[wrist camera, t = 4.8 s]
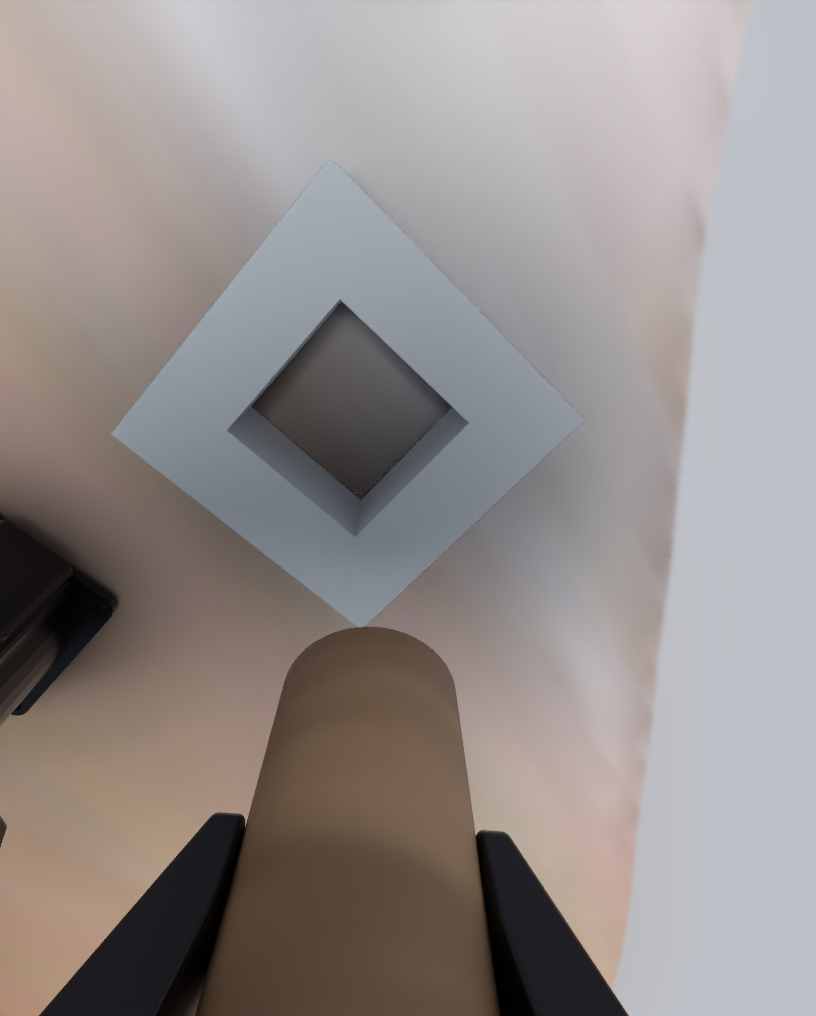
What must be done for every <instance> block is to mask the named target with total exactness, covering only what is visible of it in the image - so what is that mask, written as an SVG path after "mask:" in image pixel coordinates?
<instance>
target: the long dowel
mask: <svg viewBox="0 0 816 1016" xmlns="http://www.w3.org/2000/svg"><path fill="white" fill-rule="evenodd" d="M195 1016H500V1009H499V1002H498V995H497V987H496V980H495V973H494V966H493V958H492V951H491V944H490V937H489V930H488V922H487V915H486V908H485V901H484V893H483V886H482V879H481V872H480V864H479V857H478V850H477V843H476V835H475V828H474V821H473V813H472V806H471V799H470V792H469V784H468V777H467V770H466V763H465V755H464V748H463V741H462V734H461V726H460V719H459V712H458V705H457V697H456V691H455V685H454V681H453V679H452V676H451V673H450V671H449V670H448V668H447V666H446V664H445V663H444V662H443V660H442V659H441V658H440V657H439V656H438V655H437V654H436V653H435V652H434V651H433V650H432V649H431V648H430V647H428V646H427V645H426V644H425V643H423V642H421V641H420V640H418V639H416V638H414V637H412V636H410V635H407V634H405V633H402V632H399V631H396V630H392V629H386V628H379V627H357V628H351V629H345V630H342V631H338V632H335V633H332V634H330V635H327V636H325V637H323V638H321V639H319V640H318V641H316V642H314V643H313V644H312V645H310V646H309V647H308V648H306V649H305V650H304V651H303V652H302V653H301V654H300V655H299V656H298V657H297V659H296V660H295V661H294V663H293V664H292V666H291V668H290V670H289V671H288V673H287V676H286V679H285V682H284V685H283V689H282V693H281V697H280V700H279V704H278V708H277V712H276V715H275V719H274V723H273V727H272V730H271V734H270V738H269V741H268V745H267V749H266V753H265V756H264V760H263V764H262V768H261V771H260V775H259V779H258V782H257V786H256V790H255V794H254V797H253V801H252V805H251V809H250V812H249V816H248V820H247V824H246V827H245V831H244V835H243V838H242V842H241V846H240V850H239V853H238V857H237V861H236V865H235V868H234V872H233V876H232V879H231V883H230V887H229V891H228V894H227V898H226V902H225V906H224V909H223V913H222V917H221V921H220V924H219V928H218V932H217V935H216V939H215V943H214V947H213V950H212V954H211V958H210V962H209V965H208V969H207V973H206V977H205V980H204V984H203V988H202V991H201V995H200V999H199V1003H198V1006H197V1010H196V1014H195Z"/></svg>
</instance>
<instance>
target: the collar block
mask: <svg viewBox="0 0 816 1016" xmlns="http://www.w3.org/2000/svg"><path fill="white" fill-rule="evenodd" d="M341 302H343V303H344V304H345V305H346V306H348V307H349V308H350V309H351V310H352V311H353V312H354V313H355V314H356V315H357V316H358V317H359V318H360V319H361V320H362V321H363V322H364V323H365V324H366V325H367V326H368V327H369V328H370V329H372V330H373V331H374V332H375V333H376V334H377V335H378V336H379V337H380V338H381V339H382V340H383V341H384V342H385V343H386V344H387V345H388V346H389V347H390V348H391V349H392V350H393V351H394V352H395V353H397V354H398V355H399V356H400V357H401V358H402V359H403V360H404V361H405V362H406V363H407V364H408V365H409V366H410V367H411V368H412V369H413V370H414V371H415V372H416V373H417V374H418V375H419V376H421V377H422V378H423V379H424V380H425V381H426V382H427V383H428V384H429V385H430V386H431V387H432V388H433V389H434V390H435V391H436V392H437V393H438V394H439V395H440V396H441V397H442V398H443V399H445V400H446V401H447V402H448V403H449V404H450V405H451V406H452V408H451V409H450V410H449V411H448V412H447V413H446V414H445V415H444V416H443V417H442V418H441V419H440V420H439V421H438V422H437V423H436V424H435V425H434V426H433V427H432V428H431V429H430V430H429V431H428V432H427V433H426V434H425V435H424V436H423V437H422V438H421V439H420V440H419V441H418V442H417V443H416V444H415V445H414V446H413V447H412V448H411V450H410V451H409V452H408V453H407V454H406V455H405V456H404V457H403V458H402V459H401V460H400V461H399V462H398V463H397V464H396V465H395V466H394V467H393V468H392V469H391V470H390V471H389V472H388V473H387V474H386V475H385V476H384V477H383V478H382V479H381V480H380V481H379V482H378V483H377V484H376V485H375V486H374V487H373V488H372V489H371V490H370V491H369V492H368V493H367V494H366V496H365V497H364V498H363V499H362V500H360V499H359V498H358V497H357V496H355V495H354V494H353V493H352V492H351V491H350V490H348V489H347V488H346V487H345V486H344V485H343V484H341V483H340V482H339V481H338V480H337V479H336V478H334V477H333V476H332V475H331V474H330V473H328V472H327V471H326V470H325V469H324V468H323V467H321V466H320V465H319V464H318V463H317V462H316V461H314V460H313V459H312V458H311V457H310V456H309V455H307V454H306V453H305V452H304V451H303V450H302V449H300V448H299V447H298V446H297V445H296V444H295V443H293V442H292V441H291V440H290V439H289V438H288V437H286V436H285V435H284V434H283V433H282V432H281V431H279V430H278V429H277V428H276V427H275V426H274V425H272V424H271V423H270V422H269V421H268V420H267V419H265V418H264V417H263V416H262V415H261V414H260V413H258V412H257V411H256V410H255V409H254V408H253V407H251V406H252V405H253V404H254V403H255V402H256V400H257V399H258V398H259V397H260V396H261V395H262V393H263V392H264V391H265V390H266V389H267V388H268V386H269V385H270V384H271V383H272V382H273V381H274V380H275V378H276V377H277V376H278V375H279V374H280V373H281V371H282V370H283V369H284V368H285V367H286V366H287V364H288V363H289V362H290V361H291V360H292V359H293V358H294V356H295V355H296V354H297V353H298V352H299V351H300V349H301V348H302V347H303V346H304V345H305V344H306V342H307V341H308V340H309V339H310V338H311V337H312V335H313V334H314V333H315V332H316V331H317V330H318V329H319V327H320V326H321V325H322V324H323V323H324V322H325V320H326V319H327V318H328V317H329V316H330V315H331V313H332V312H333V311H334V310H335V309H336V308H337V306H338V305H339V304H340V303H341ZM584 420H585V419H584V418H583V417H582V416H581V415H580V414H579V413H578V412H577V411H576V410H575V409H574V408H573V407H572V406H571V405H570V404H569V403H568V402H567V401H566V400H565V399H564V398H563V397H562V395H561V394H560V393H559V392H558V391H557V390H556V389H555V388H554V387H553V386H552V385H551V384H550V383H549V382H548V381H547V380H546V379H545V378H544V377H543V376H542V375H541V374H540V373H539V372H538V371H537V370H536V369H535V368H534V367H533V366H532V364H531V363H530V362H529V361H528V360H527V359H526V358H525V357H524V356H523V355H522V354H521V353H520V352H519V351H518V350H517V349H516V348H515V347H514V346H513V345H512V344H511V343H510V342H509V341H508V340H507V339H506V338H505V337H504V336H503V335H502V333H501V332H500V331H499V330H498V329H497V328H496V327H495V326H494V325H493V324H492V323H491V322H490V321H489V320H488V319H487V318H486V317H485V316H484V315H483V314H482V313H481V312H480V311H479V310H478V309H477V308H476V307H475V306H474V305H473V304H472V302H471V301H470V300H469V299H468V298H467V297H466V296H465V295H464V294H463V293H462V292H461V291H460V290H459V289H458V288H457V287H456V286H455V285H454V284H453V283H452V282H451V281H450V280H449V279H448V278H447V277H446V276H445V275H444V274H443V272H442V271H441V270H440V269H439V268H438V267H437V266H436V265H435V264H434V263H433V262H432V261H431V260H430V259H429V258H428V257H427V256H426V255H425V254H424V253H423V252H422V251H421V250H420V249H419V248H418V247H417V246H416V245H415V244H414V243H413V241H412V240H411V239H410V238H409V237H408V236H407V235H406V234H405V233H404V232H403V231H402V230H401V229H400V228H399V227H398V226H397V225H396V224H395V223H394V222H393V221H392V220H391V219H390V218H389V217H388V216H387V215H386V214H385V213H384V212H383V210H382V209H381V208H380V207H379V206H378V205H377V204H376V203H375V202H374V201H373V200H372V199H371V198H370V197H369V196H368V195H367V194H366V193H365V192H364V191H363V190H362V189H361V188H360V187H359V186H358V185H357V184H356V183H355V182H354V181H353V179H352V178H351V177H350V176H349V175H348V174H347V173H346V172H345V171H344V170H343V169H342V168H341V167H340V166H339V165H338V164H337V163H336V162H335V161H334V160H333V159H332V158H331V157H330V158H329V159H328V161H327V162H326V163H325V164H324V166H323V167H322V168H321V170H320V171H319V172H318V173H317V175H316V176H315V177H314V178H313V180H312V181H311V182H310V183H309V185H308V186H307V187H306V188H305V190H304V191H303V192H302V193H301V195H300V196H299V197H298V198H297V200H296V201H295V202H294V204H293V205H292V206H291V207H290V209H289V210H288V211H287V212H286V214H285V215H284V216H283V217H282V219H281V220H280V221H279V222H278V224H277V225H276V226H275V227H274V229H273V230H272V231H271V232H270V234H269V235H268V236H267V238H266V239H265V240H264V241H263V243H262V244H261V245H260V246H259V248H258V249H257V250H256V251H255V253H254V254H253V255H252V256H251V258H250V259H249V260H248V261H247V263H246V264H245V265H244V267H243V268H242V269H241V270H240V272H239V273H238V274H237V275H236V277H235V278H234V279H233V280H232V282H231V283H230V284H229V285H228V287H227V288H226V289H225V290H224V292H223V293H222V294H221V295H220V297H219V298H218V299H217V301H216V302H215V303H214V304H213V306H212V307H211V308H210V309H209V311H208V312H207V313H206V314H205V316H204V317H203V318H202V319H201V321H200V322H199V323H198V324H197V326H196V327H195V328H194V329H193V331H192V332H191V333H190V335H189V336H188V337H187V338H186V340H185V341H184V342H183V343H182V345H181V346H180V347H179V348H178V350H177V351H176V352H175V353H174V355H173V356H172V357H171V358H170V360H169V361H168V362H167V364H166V365H165V366H164V367H163V369H162V370H161V371H160V372H159V374H158V375H157V376H156V377H155V379H154V380H153V381H152V382H151V384H150V385H149V386H148V387H147V389H146V390H145V391H144V392H143V394H142V395H141V396H140V398H139V399H138V400H137V401H136V403H135V404H134V405H133V406H132V408H131V409H130V410H129V411H128V413H127V414H126V415H125V416H124V418H123V419H122V420H121V421H120V423H119V424H118V425H117V426H116V428H115V429H114V430H113V432H112V433H111V435H112V436H114V437H115V438H116V439H117V440H119V441H120V442H121V443H122V444H124V445H125V446H126V447H128V448H129V449H130V450H131V451H133V452H134V453H135V454H137V455H138V456H139V457H140V458H142V459H143V460H144V461H146V462H147V463H148V464H149V465H151V466H152V467H153V468H154V469H156V470H157V471H158V472H160V473H161V474H162V475H163V476H165V477H166V478H167V479H169V480H170V481H171V482H172V483H174V484H175V485H176V486H177V487H179V488H180V489H181V490H183V491H184V492H185V493H186V494H188V495H189V496H190V497H192V498H193V499H194V500H195V501H197V502H198V503H199V504H201V505H202V506H203V507H204V508H206V509H207V510H208V511H209V512H211V513H212V514H213V515H215V516H216V517H217V518H218V519H220V520H221V521H222V522H224V523H225V524H226V525H227V526H229V527H230V528H231V529H233V530H234V531H235V532H236V533H238V534H239V535H240V536H241V537H243V538H244V539H245V540H247V541H248V542H249V543H250V544H252V545H253V546H254V547H256V548H257V549H258V550H259V551H261V552H262V553H263V554H265V555H266V556H267V557H268V558H270V559H271V560H272V561H273V562H275V563H276V564H277V565H279V566H280V567H281V568H282V569H284V570H285V571H286V572H288V573H289V574H290V575H291V576H293V577H294V578H295V579H297V580H298V581H299V582H300V583H302V584H303V585H304V586H305V587H307V588H308V589H309V590H311V591H312V592H313V593H314V594H316V595H317V596H318V597H320V598H321V599H322V600H323V601H325V602H326V603H327V604H329V605H330V606H331V607H332V608H334V609H335V610H336V611H337V612H339V613H340V614H341V615H343V616H344V617H345V618H346V619H348V620H349V621H350V622H352V623H353V624H354V625H355V626H357V627H365V626H366V625H367V624H368V623H369V622H370V621H371V620H372V619H373V618H374V617H375V616H377V615H378V614H379V613H380V612H381V611H382V610H383V609H384V608H385V607H386V606H387V605H388V604H389V603H390V602H391V601H392V600H394V599H395V598H396V597H397V596H398V595H399V594H400V593H401V592H402V591H403V590H404V589H405V588H406V587H407V586H408V585H409V584H411V583H412V582H413V581H414V580H415V579H416V578H417V577H418V576H419V575H420V574H421V573H422V572H423V571H424V570H425V569H426V568H428V567H429V566H430V565H431V564H432V563H433V562H434V561H435V560H436V559H437V558H438V557H439V556H440V555H441V554H442V553H443V552H445V551H446V550H447V549H448V548H449V547H450V546H451V545H452V544H453V543H454V542H455V541H456V540H457V539H458V538H459V537H460V536H462V535H463V534H464V533H465V532H466V531H467V530H468V529H469V528H470V527H471V526H472V525H473V524H474V523H475V522H476V521H477V520H479V519H480V518H481V517H482V516H483V515H484V514H485V513H486V512H487V511H488V510H489V509H490V508H491V507H492V506H493V505H494V504H496V503H497V502H498V501H499V500H500V499H501V498H502V497H503V496H504V495H505V494H506V493H507V492H508V491H509V490H510V489H511V488H513V487H514V486H515V485H516V484H517V483H518V482H519V481H520V480H521V479H522V478H523V477H524V476H525V475H526V474H527V473H528V472H530V471H531V470H532V469H533V468H534V467H535V466H536V465H537V464H538V463H539V462H540V461H541V460H542V459H543V458H544V457H545V456H547V455H548V454H549V453H550V452H551V451H552V450H553V449H554V448H555V447H556V446H557V445H558V444H559V443H560V442H561V441H562V440H564V439H565V438H566V437H567V436H568V435H569V434H570V433H571V432H572V431H573V430H574V429H575V428H576V427H577V426H578V425H579V424H581V423H582V422H583V421H584Z"/></svg>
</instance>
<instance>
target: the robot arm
mask: <svg viewBox="0 0 816 1016" xmlns="http://www.w3.org/2000/svg"><path fill="white" fill-rule="evenodd" d="M96 603H101V604H103V605H104V606H105V609H101V608H99V607H98V606H97V605H96ZM117 608H118V602H117V600H116V598H115V597H114V596H113V595H112V594H111V593H109V592H108V591H107V590H105V589H104V588H102V587H101V586H99V585H98V584H97V583H95V582H94V581H92V580H91V579H90V578H88V577H87V576H85V575H84V574H82V573H81V572H80V571H78V570H77V569H75V568H74V567H72V566H71V565H70V564H69V563H67V562H66V561H64V560H63V559H62V558H60V557H59V556H57V555H56V554H54V553H53V552H52V551H50V550H49V549H47V548H46V547H44V546H43V545H42V544H40V543H39V542H37V541H36V540H34V539H33V538H32V537H30V536H29V535H27V534H26V533H24V532H23V531H22V530H20V529H19V528H17V527H16V526H15V525H13V524H12V523H10V522H9V521H7V520H5V519H4V518H3V517H1V516H0V726H1V725H2V724H3V723H4V722H5V720H6V719H7V718H8V717H9V716H10V715H17V716H18V715H23V714H24V713H26V712H27V711H28V710H29V709H30V708H31V706H32V705H33V704H34V703H35V702H36V701H37V700H38V699H39V697H40V696H41V695H42V694H43V693H44V692H45V691H46V690H47V688H48V687H49V686H50V685H51V684H52V683H53V682H54V681H55V679H56V678H57V677H58V676H59V675H60V674H61V673H62V672H63V670H64V669H65V668H66V667H67V666H68V665H69V664H70V663H71V661H72V660H73V659H74V658H75V657H76V656H77V655H78V654H79V652H80V651H81V650H82V649H83V648H84V647H85V646H86V645H87V643H88V642H89V641H90V640H91V639H92V638H93V637H94V636H95V634H96V633H97V632H98V631H99V630H100V629H101V628H102V627H103V625H104V624H105V623H106V622H107V621H108V620H109V619H110V618H111V616H112V615H113V614H114V613H115V611H116V609H117ZM6 828H7V825H6V823H5V822H4V821H3V819H2V818H1V816H0V847H1V843H2V840H3V837H4V834H5V831H6ZM244 831H245V818H244V816H243V815H241V814H235V813H215V814H213V815H212V816H211V817H210V818H209V819H208V820H207V822H206V823H205V824H204V825H203V826H202V827H201V829H200V830H199V831H198V832H197V833H196V834H195V835H194V837H193V838H192V839H191V840H190V841H189V842H188V844H187V845H186V846H185V847H184V848H183V849H182V851H181V852H180V853H179V854H178V855H177V856H176V858H175V859H174V860H173V861H172V862H171V863H170V864H169V866H168V867H167V868H166V869H165V870H164V871H163V873H162V874H161V875H160V876H159V877H158V878H157V880H156V881H155V882H154V883H153V884H152V885H151V886H150V888H149V889H148V890H147V891H146V892H145V893H144V895H143V896H142V897H141V898H140V899H139V900H138V902H137V903H136V904H135V905H134V906H133V907H132V909H131V910H130V911H129V912H128V913H127V914H126V915H125V917H124V918H123V919H122V920H121V921H120V922H119V924H118V925H117V926H116V927H115V928H114V929H113V931H112V932H111V933H110V934H109V935H108V936H107V938H106V939H105V940H104V941H103V942H102V943H101V944H100V946H99V947H98V948H97V949H96V950H95V951H94V953H93V954H92V955H91V956H90V957H89V958H88V960H87V961H86V962H85V963H84V964H83V965H82V966H81V968H80V969H79V970H78V971H77V972H76V973H75V975H74V976H73V977H72V978H71V979H70V980H69V982H68V983H67V984H66V985H65V986H64V987H63V989H62V990H61V991H60V992H59V993H58V994H57V995H56V997H55V998H54V999H53V1000H52V1001H51V1002H50V1004H49V1005H48V1006H47V1007H46V1008H45V1009H44V1011H43V1012H42V1013H41V1014H40V1015H39V1016H195V1014H196V1010H197V1006H198V1003H199V999H200V995H201V991H202V988H203V984H204V980H205V977H206V973H207V969H208V965H209V962H210V958H211V954H212V950H213V947H214V943H215V939H216V935H217V932H218V928H219V924H220V921H221V917H222V913H223V909H224V906H225V902H226V898H227V894H228V891H229V887H230V883H231V879H232V876H233V872H234V868H235V865H236V861H237V857H238V853H239V850H240V846H241V842H242V838H243V835H244ZM476 843H477V850H478V857H479V864H480V872H481V879H482V886H483V893H484V901H485V908H486V915H487V922H488V930H489V937H490V944H491V951H492V958H493V966H494V973H495V980H496V987H497V995H498V1002H499V1009H500V1016H629V1015H628V1014H627V1012H626V1011H625V1009H624V1008H623V1006H622V1005H621V1004H620V1002H619V1000H618V999H617V997H616V996H615V994H614V993H613V991H612V990H611V988H610V987H609V985H608V984H607V982H606V981H605V979H604V978H603V976H602V975H601V973H600V972H599V970H598V969H597V967H596V966H595V964H594V963H593V961H592V960H591V958H590V957H589V955H588V954H587V952H586V951H585V949H584V948H583V946H582V945H581V943H580V942H579V940H578V939H577V937H576V936H575V934H574V933H573V931H572V929H571V928H570V926H569V925H568V923H567V922H566V920H565V919H564V917H563V916H562V914H561V913H560V911H559V910H558V908H557V907H556V905H555V904H554V902H553V901H552V899H551V898H550V896H549V895H548V893H547V892H546V890H545V889H544V887H543V886H542V884H541V883H540V881H539V880H538V878H537V877H536V875H535V874H534V872H533V871H532V869H531V868H530V866H529V865H528V863H527V862H526V860H525V859H524V857H523V856H522V854H521V853H520V851H519V850H518V848H517V847H516V845H515V844H514V842H513V841H512V839H511V838H510V836H509V835H508V834H507V833H505V832H501V831H487V830H482V831H479V832H478V833H477V835H476Z"/></svg>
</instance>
